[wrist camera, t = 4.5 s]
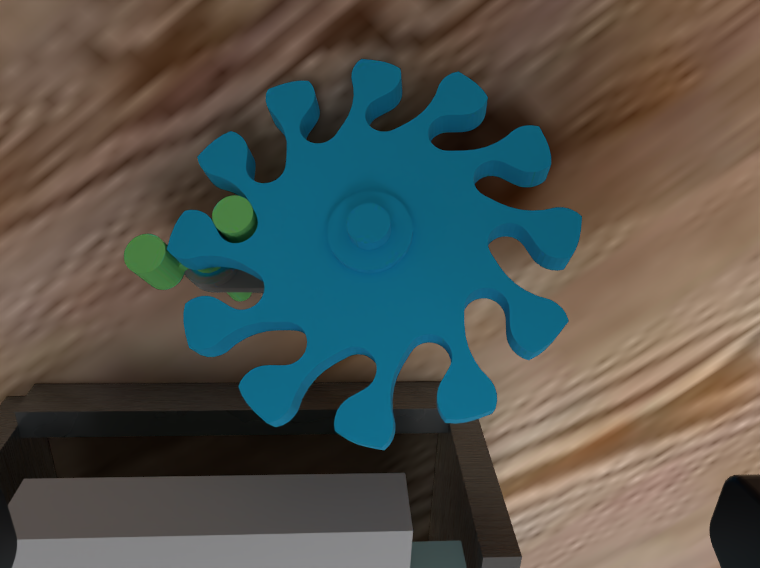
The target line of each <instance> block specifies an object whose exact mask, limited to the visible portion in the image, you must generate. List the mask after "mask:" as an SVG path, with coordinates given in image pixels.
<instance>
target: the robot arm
mask: <svg viewBox="0 0 760 568" xmlns="http://www.w3.org/2000/svg"><path fill="white" fill-rule="evenodd" d="M710 538H711V543H712V546H713V548H714V551H715V553H716V556H717V558H718V561H719V563H720V566H721V568H760V475H733V476H730V477H729V478H728V479H727V480H726V481H725V483H724V485H723V488H722V491H721V493H720V496H719V499H718V502H717V505H716V507H715V510H714V513H713V516H712V519H711V522H710ZM16 552H17V535H16V532H15V528H14V525H13V521H12V518H11V514H10V511H9V508H8V504H7V501H6V497H5V495H4V492H3V491H2V490H1V488H0V568H12V566H13V564H14V561H15V557H16Z"/></svg>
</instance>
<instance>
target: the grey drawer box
mask: <svg viewBox="0 0 760 568" xmlns="http://www.w3.org/2000/svg"><path fill="white" fill-rule="evenodd" d="M371 383H372V382H351V383H312V384H311V386H310V387H309V388H308V390H307V391H306V393H305V395H304V397H303V399H302V401H301V404H300V407H299V409H298V411H297V413H296V415H295V416H294V417H293V418H292V419H291V420H290V421H289V422H287V423H286V424H284V425H282V426H278V427H274V426H272V425H270V424H267V423H266V422H265V421H264V420H263V419H262V418H261V417H259V416H258V415H257V414H256V413H255V412H254V411H253V410H252V409H251V407H250V406H249V405H248V404H247V403H246V401H245V400H244V398H243V397H242V395H241V392H240V390H239V387H238V386H239V384H240V383H161V384H34V386H33V387H32V389H31V390H30V391H29V393H28V394H27V395H26V397H6V398H5V400H4V401H3V402H2V403H1V405H0V488H1V490H2V491H3V492H4V495H5V497H6V501H7V504H9V503H10V501H11V499H12V498H13V496H14V494H15V493H16V491H17V489H18V488H19V486H20V485H21V483H22V481H23V480H24V479H42V478H57V476H56V471H55V467H54V463H53V459H52V455H51V450H50V446H49V442H48V438H47V437H120V436H211V435H302V434H338V433H337V432H336V431H335V428H334V421H335V416H336V413H337V410H338V409H339V407H340V405H341V404H342V403H343V402H344V401H345V400H347V399H348V398H349V397H351V396H353V395H355V394H356V393H358V392H360V391H362V390H364V389H365V388H367V387H368V386H369V385H370V384H371ZM440 383H441V382H396V383H395V386H394V392H393V415H394V419H395V433H438V442H437V453H436V463H435V474H434V484H433V494H432V505H431V515H430V526H429V536H428V541H461V544H462V548H463V553H464V558H465V562H466V567H467V568H520V564H521V559H522V555H521V552H520V549H519V546H518V543H517V540H516V536H515V533H514V530H513V527H512V524H511V521H510V517H509V514H508V511H507V508H506V505H505V502H504V499H503V495H502V492H501V489H500V486H499V483H498V480H497V476H496V473H495V470H494V467H493V464H492V461H491V457H490V454H489V451H488V448H487V445H486V442H485V438H484V435H483V432H482V429H481V426H480V423H479V420H478V419H476V420H473V421H469V422H465V423H457V424H454V423H445V422H444V421H443V419H442V418H441V416H440V414H439V412H438V408H437V392H438V387H439V385H440Z"/></svg>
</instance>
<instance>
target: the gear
mask: <svg viewBox="0 0 760 568" xmlns="http://www.w3.org/2000/svg"><path fill="white" fill-rule="evenodd" d="M352 83H353V89H354V97H353V103H352V107H351V110H350V113H349V115H348V117H347V118H346V120H345V122H344V124H343V125H342V126H341V128H340V129H339V131H338V132H337V134H336V135H335V136H334V137H333V138H332V139H330V140H329V141H327V142H324V143H312V142H309V141H307V140H306V138H307V136H308V135H309V133H310V132H311V130H312V129H313V128H314V126H315V125H316V123H317V121H318V119H319V116H320V109H319V105H318V101H317V98H316V95H315V91H314V88H313V86H312V84H311V83H310V82H309V81H293V82H288V83H285V84H281V85H278V86H275V87H273V88H270V89H268V91H267V93H266V104H267V107H268V109H269V112H270V114H271V116H272V119H273V121H274V123H275V125H276V127H277V128H278V129H279V130H280V131H281V132H282V133H283V134H284V136H285V137H286V141H287V156H286V166H285V170H284V172H283V174H282V175H281V176H280V177H279V178H278V179H276V180H275V181H272V182H269V183H259V182H256V181H254V179H255V169H256V164H255V160H254V157H253V155H252V154H251V152H250V150H249V148H248V146H247V144H246V142H245V140H244V139H243V138H242V137H241V136H240V135H239V134H237V133H235V132H232V131H230V132H228V133H225V134H223V135H222V136H220V137H219V138H217V139H216V140H214V141H213V142H212V143H211V144H210V145H208V146H207V147H206V148H205V149H204V150H203V151H202V152H201V153H200V154H199V155H198V156H197V158H198V162H199V164H200V166H201V168H202V169H203V171H204V172H205V174H206V175H207V176H208V178H209V179H210V181H211V182H212V183H213V184H214V185H215V186H216V187H218V188H220V189H223V190H227V191H230V192H232V193H234V194H236V195H239V196H236V195H233V196H228V197H225V198H223V199H222V200H220V201H219V202H218V203H217V204H216V206H215V207H214V210H213V213H212V219H211V218H210V217H209V216H208V215H207V214H205V213H203V212H202V211H198V210H186V211H184V212H183V214H182V215H181V216H180V217H179V219H178V221H177V222H176V224H175V226H174V228H173V231H172V233H171V236H170V239H169V243H168V245H166V244H165V243H164V242H163V241H162V240H161V239H160V238H159V237H157V236H155V235H153V234H142V235H139V236H137V237H135V238H134V239H133V240H131V241H130V242H129V244H128V245H127V247H126V249H125V252H124V261H125V264H126V265H127V267H128V268H129V269H130V270H131V271H133V272H134V273H135V274H137V275H138V276H139V277H141V278H142V279H143V280H144V281H146V282H147V283H148V284H150V285H151V286H152V287H154V288H156V289H160V290H166V289H170V288H172V287H174V286H176V285H177V284H178V283H179V282H180V281H181V279H182V278H183V275H184V274H185V276H186V277H187V278H188V279H189V280H191V281H192V282H193V283H194V284H195V285H196V286H197V287H199V288H200V289H202V290H204V291H208V292H227V293H228V294H229V295H230V296H231V297H232V298H233V299H234V300H236V301H245V300H247V299H248V298H249V297H250V296H251V294H252V293H263V296H262V298H261V299H260V301H259V302H258V303H257V304H256V305H255V306H253V307H251V308H249V309H245V310H238V309H234V308H232V307H230V306H228V305H227V304H225V303H223V302H222V301H220V300H218V299H216V298H214V297H210V296H200V297H196V298H194V299H192V300H190V301H188V302H187V303H186V304H185V308H184V313H183V314H184V328H185V334H186V338H187V341H188V345H189V348H190V349H192V350H194V351H195V352H197V353H198V354H200V355H202V356H206V357H216V356H220V355H222V354H224V353H226V352H227V351H229V350H230V349H231V348H232V347H233V346H235V345H236V344H237V343H239V342H241V341H242V340H244V339H245V338H248V337H250V336H252V335H255V334H258V333H262V332H266V331H275V330H295V331H300V332H303V333H304V334H306V337H307V347H306V351H305V353H304V354H303V356H302V357H301V358H300V359H299V360H298V361H296V362H295V363H293V364H290V365H264V366H259V367H256V368H254V369H252V370H251V371H249V372H248V373H247V374H246V375H245V376H244V377H243V379H242V380H241V382H240V384H239V386H238V387H239V390H240V392H241V395H242V397H243V398H244V400H245V401H246V403H247V404H248V405H249V406H250V407H251V409H252V410H253V411H254V412H255V413H256V414H257V415H258V416H259V417H261V418H262V419H263V420H264V421H265V422H266V423H267V424H270V425H272V426H274V427H278V426H282V425H284V424H286V423H287V422H289V421H290V420H291V419H292V418H293V417H294V416H295V415H296V413H297V411H298V409H299V407H300V404H301V401H302V399H303V397H304V395H305V393H306V391H307V390H308V388H309V387H310V386H311V384H312V383H313V382H314V380H315V379H316V378H317V377H318V376H319V375H321V374H322V373H323V372H324V371H325V370H327V369H328V368H330V367H331V366H333V365H334V364H336V363H338V362H340V361H341V360H343V359H345V358H347V357H349V356H352V355H356V354H361V355H365V356H368V357H370V358H371V359H372V360H373V361H374V362H375V363H376V366H377V371H376V376H375V378H374V380H373V382H372V383H371V384H370V385H369V386H368V387H367V388H365V389H364V390H362V391H360V392H358V393H356V394H355V395H353V396H351V397H349V398H348V399H347V400H345V401H344V402H343V403H342V404H341V405H340V407H339V409H338V410H337V413H336V416H335V421H334V428H335V431H336V432H337V433H338V434H340V435H341V436H343V437H344V438H345V439H347V440H349V441H351V442H353V443H355V444H357V445H361V446H365V447H368V448H374V449H379V450H385V449H386V448H387V447H388V446H389V445H390V444H391V442H392V440H393V438H394V434H395V419H394V415H393V392H394V386H395V383H396V380H397V376H398V374H399V372H400V370H401V368H402V366H403V364H404V363H405V361H406V360H407V358H408V356H409V355H410V353H411V352H412V350H413V349H414V348H415V347H417V346H418V345H420V344H422V343H427V342H431V343H436V344H439V345H440V346H442V347H443V348H444V349H445V350H446V351H447V352H448V354H449V356H450V359H451V365H450V367H449V369H448V371H447V373H446V374H445V376H444V378H443V379H442V381H441V383H440V385H439V387H438V392H437V408H438V412H439V414H440V416H441V418H442V419H443V421H444V422H445V423H454V424H457V423H465V422H469V421H473V420H476V419H479V418H482V417H484V416H487V415H490V414H492V413H493V411H494V410H495V408H496V404H497V393H496V390H495V387H494V385H493V383H492V381H491V380H490V379H489V378H488V377H487V376H486V375H485V374H484V372H483V371H482V370H481V369H480V368H479V366H478V365H477V363H476V362H475V360H474V358H473V356H472V354H471V352H470V350H469V347H468V344H467V340H466V336H465V326H464V310H465V308H466V307H467V305H468V304H469V303H470V302H472V301H474V300H476V299H480V298H487V299H491V300H493V301H495V302H497V303H498V304H499V305H500V306H501V307H502V308H503V310H504V313H505V317H506V335H507V340H508V343H509V345H510V347H511V348H512V350H513V351H514V352H515V353H516V354H517V355H519V356H520V357H522V358H524V359H527V360H530V359H532V358H534V357H536V356H538V355H539V354H540V353H542V352H543V351H544V350H545V349H546V348H547V347H548V346H549V345H550V344H551V343H552V342H553V341H554V340H555V338H556V337H557V336H558V334H559V333H560V332H561V330H562V329H563V328H564V327H565V325H566V324H567V323H568V321H569V320H568V318H567V315H566V313H565V312H564V310H563V309H562V308H561V307H560V306H559V305H558V304H557V303H555V302H553V301H552V300H550V299H546V298H543V297H539V296H536V295H534V294H532V293H530V292H528V291H526V290H524V289H523V288H521V287H520V286H518V285H517V284H515V283H514V282H513V281H512V280H511V279H510V278H509V277H508V276H507V275H506V274H505V273H504V272H503V270H502V269H501V268H500V266H499V265H498V263H497V262H496V260H495V259H494V257H493V256H492V254H491V252H490V250H489V247H488V245H489V243H490V242H492V241H493V240H494V239H496V238H499V237H504V236H508V237H513V238H515V239H517V240H518V241H520V242H521V243H522V244H523V245H524V247H525V248H526V250H527V251H528V253H529V254H530V256H531V257H532V258H533V260H534V261H535V262H536V263H537V264H539V265H540V266H542V267H544V268H546V269H550V270H564V268H565V267H566V265H567V264H568V262H569V260H570V258H571V257H572V255H573V253H574V252H575V250H576V247H577V244H578V242H579V237H580V232H581V223H582V216H581V215H580V214H578V213H577V212H575V211H573V210H571V209H568V208H564V207H555V208H551V209H546V210H535V211H530V210H520V209H516V208H512V207H508V206H506V205H503V204H501V203H498V202H496V201H494V200H492V199H490V198H488V197H486V196H484V195H483V194H481V193H480V192H479V191H478V190H477V189H476V187H475V185H474V184H475V183H476V182H477V181H478V180H479V179H481V178H483V177H486V176H497V177H500V178H502V179H504V180H506V181H508V182H510V183H512V184H514V185H517V186H520V187H534V186H537V185H539V184H541V183H543V182H544V181H545V180H546V178H547V175H548V172H549V169H550V166H551V154H550V149H549V146H548V143H547V141H546V138H545V137H544V135H543V133H542V131H541V129H540V127H539V126H533V125H527V126H522V127H519V128H517V129H515V130H513V131H512V132H511V133H510V134H509V135H507V136H506V137H505V138H503V139H502V140H500V141H498V142H497V143H494V144H492V145H489V146H487V147H484V148H479V149H475V150H465V151H445V150H441V149H438V148H437V147H435V146H434V145H433V144H432V143H431V140H432V139H433V138H434V137H435V136H437V135H439V134H441V133H446V132H467V131H470V130H473V129H475V128H476V127H478V126H479V125H480V124H481V123H482V121H483V120H484V117H485V114H486V107H487V100H488V97H487V95H486V94H485V92H484V91H483V90H482V89H481V88H480V87H479V86H478V85H477V84H476V83H475V82H474V81H472V80H471V79H470V78H468V77H467V76H465V75H463V74H462V73H460V72H459V71H458V72H455V73H452V74H450V75H448V76H446V77H445V78H444V79H443V80H442V81H441V83H440V84H439V86H438V89H437V92H436V95H435V96H434V98H433V100H432V101H431V103H430V104H429V105H428V107H427V108H426V109H425V110H424V111H423V112H422V113H421V114H419V115H418V116H417V117H416V118H414V119H412V120H411V121H409V122H408V123H406V124H404V125H402V126H400V127H398V128H396V129H394V130H391V131H386V132H382V131H377V130H375V129H373V128H371V127H370V124H371V123H372V122H373V120H374V119H376V118H378V117H379V116H381V115H383V114H385V113H387V112H389V111H391V110H392V109H394V108H395V107H396V106H397V105H398V104H399V102H400V101H401V98H402V79H401V70H400V68H398V67H396V66H395V65H392V64H389V63H386V62H382V61H376V60H367V59H361V60H360V61H358V62H357V63H356V65H355V66H354V68H353V71H352ZM212 220H213V221H212Z"/></svg>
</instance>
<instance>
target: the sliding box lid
mask: <svg viewBox="0 0 760 568" xmlns="http://www.w3.org/2000/svg"><path fill="white" fill-rule="evenodd" d="M8 508H9V511H10V514H11V518H12V521H13V525H14V528H15V532H16V535H17V552H16V557H15V561H14V564H13V566H12V568H467V567H466V562H465V558H464V553H463V548H462V544H461V541H424V542H412V537H413V527H412V520H411V513H410V505H409V498H408V491H407V483H406V476H405V473H366V474H301V475H237V476H172V477H107V478H42V479H24V480H23V481H22V483H21V485H20V486H19V488H18V489H17V491H16V493H15V494H14V496H13V498H12V499H11V501H10V503H9V504H8Z"/></svg>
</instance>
